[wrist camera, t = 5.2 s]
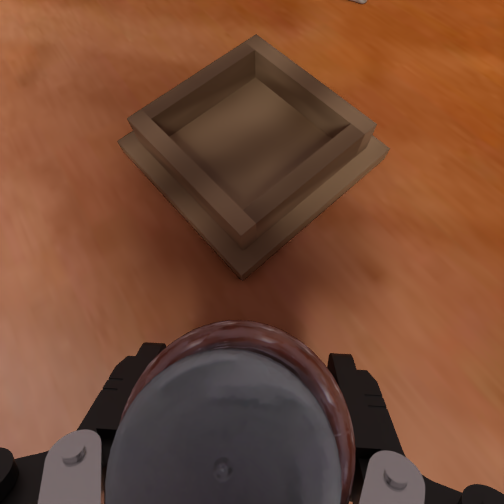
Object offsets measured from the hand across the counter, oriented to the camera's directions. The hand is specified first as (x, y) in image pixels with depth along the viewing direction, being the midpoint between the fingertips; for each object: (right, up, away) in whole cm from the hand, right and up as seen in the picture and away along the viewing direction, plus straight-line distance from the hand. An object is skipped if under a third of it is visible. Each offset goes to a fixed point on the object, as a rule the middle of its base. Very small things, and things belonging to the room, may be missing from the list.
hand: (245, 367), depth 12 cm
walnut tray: (0, +11, +9) cm, 14 cm away
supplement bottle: (0, -3, +4) cm, 5 cm away
